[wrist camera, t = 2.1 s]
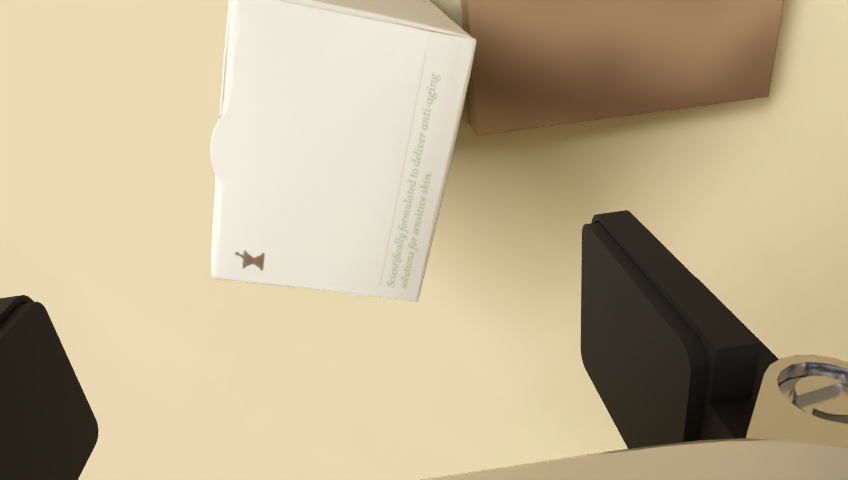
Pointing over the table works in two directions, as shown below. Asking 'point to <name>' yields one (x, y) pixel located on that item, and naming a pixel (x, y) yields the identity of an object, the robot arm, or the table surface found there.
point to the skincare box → (335, 142)
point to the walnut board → (613, 57)
